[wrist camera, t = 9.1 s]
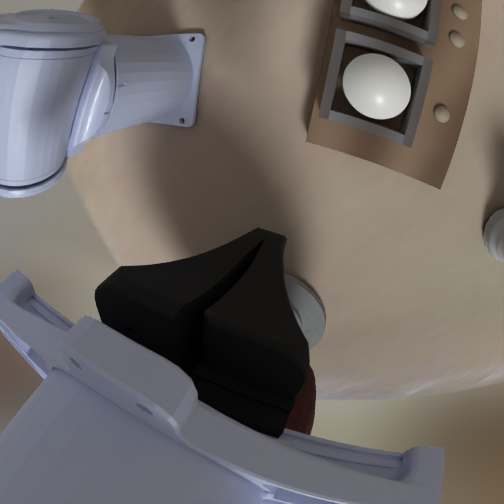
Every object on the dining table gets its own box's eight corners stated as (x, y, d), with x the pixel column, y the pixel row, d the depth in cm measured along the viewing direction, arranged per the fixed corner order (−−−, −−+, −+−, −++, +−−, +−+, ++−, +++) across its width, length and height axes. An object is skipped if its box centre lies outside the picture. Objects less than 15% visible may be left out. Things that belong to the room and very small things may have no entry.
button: (337, 105, 16) (336, 106, 14) (349, 50, 13) (349, 44, 12) (396, 125, 15) (401, 128, 13) (409, 70, 13) (416, 67, 11)
